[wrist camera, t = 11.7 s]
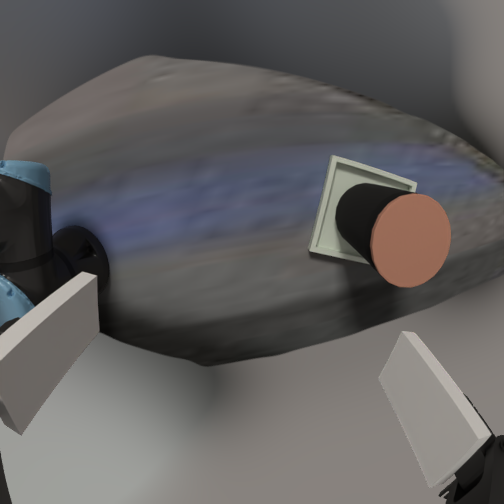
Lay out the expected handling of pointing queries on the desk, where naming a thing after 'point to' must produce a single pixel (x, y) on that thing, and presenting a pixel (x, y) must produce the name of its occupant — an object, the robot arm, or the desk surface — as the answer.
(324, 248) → the sage tray
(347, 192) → the coffee jar
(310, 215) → the desk surface
